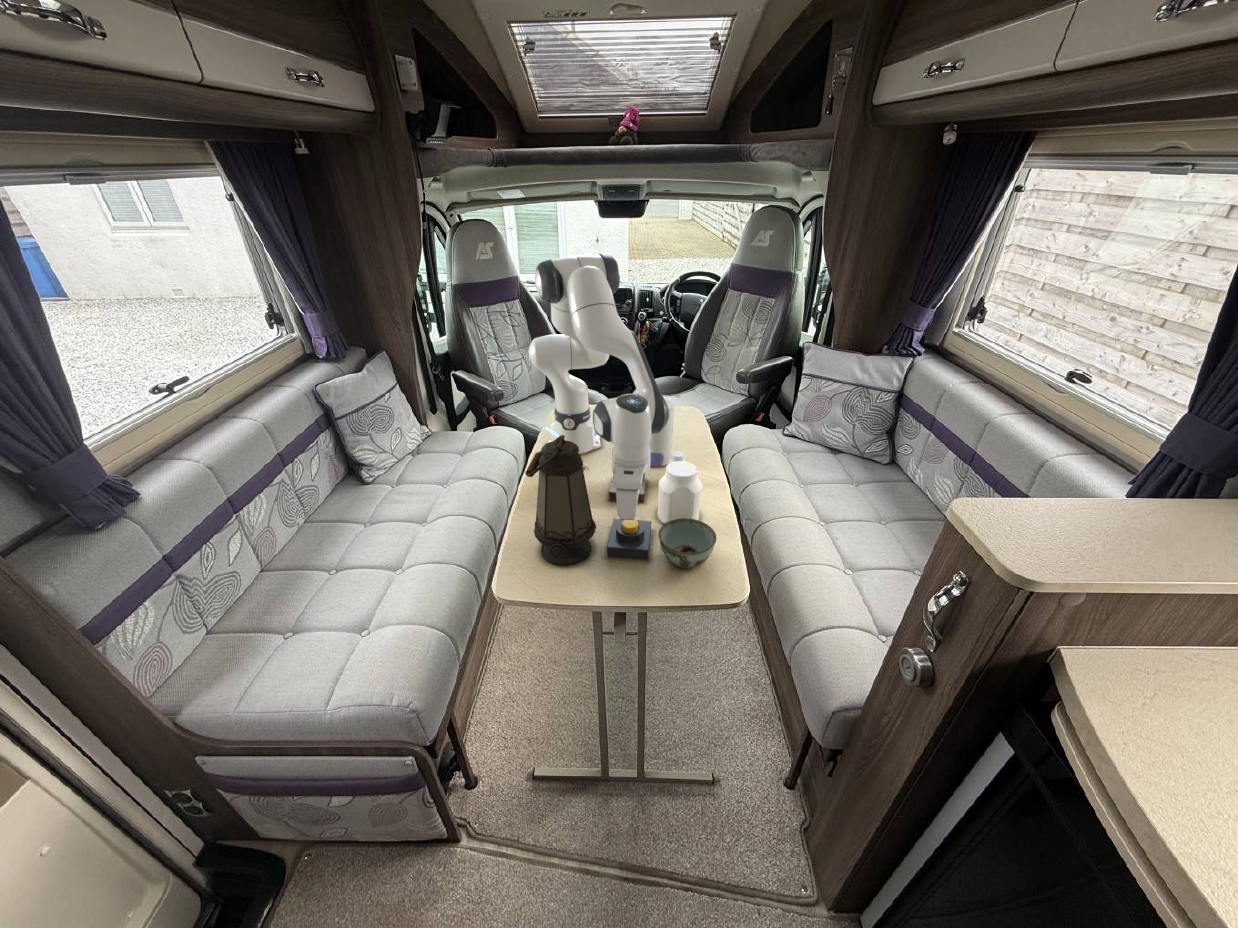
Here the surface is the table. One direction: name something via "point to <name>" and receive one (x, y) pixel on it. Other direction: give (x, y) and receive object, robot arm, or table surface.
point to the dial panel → (640, 498)
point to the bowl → (686, 542)
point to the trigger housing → (629, 541)
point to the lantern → (562, 504)
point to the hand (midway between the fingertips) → (630, 513)
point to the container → (662, 441)
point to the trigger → (630, 526)
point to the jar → (679, 492)
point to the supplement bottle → (677, 456)
